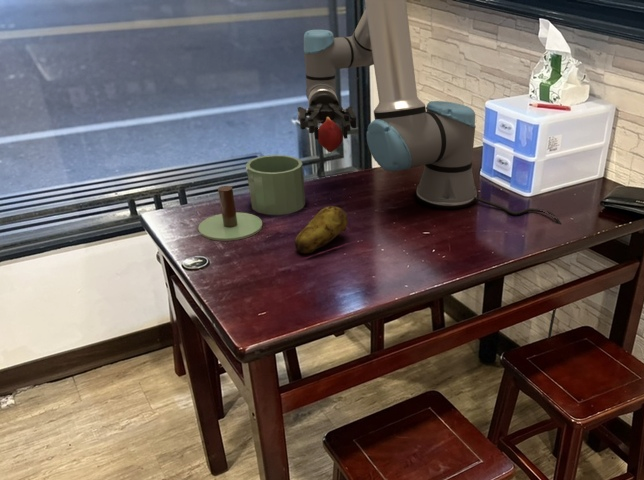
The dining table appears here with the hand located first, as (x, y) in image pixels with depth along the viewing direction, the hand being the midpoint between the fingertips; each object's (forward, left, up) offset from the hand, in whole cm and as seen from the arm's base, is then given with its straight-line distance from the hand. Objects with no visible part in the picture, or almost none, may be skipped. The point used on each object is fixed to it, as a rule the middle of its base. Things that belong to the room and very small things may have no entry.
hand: (331, 132), depth 136 cm
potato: (-13, +13, -19) cm, 26 cm away
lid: (+6, +24, -18) cm, 31 cm away
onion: (+4, -3, -6) cm, 8 cm away
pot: (+11, +9, -19) cm, 24 cm away
